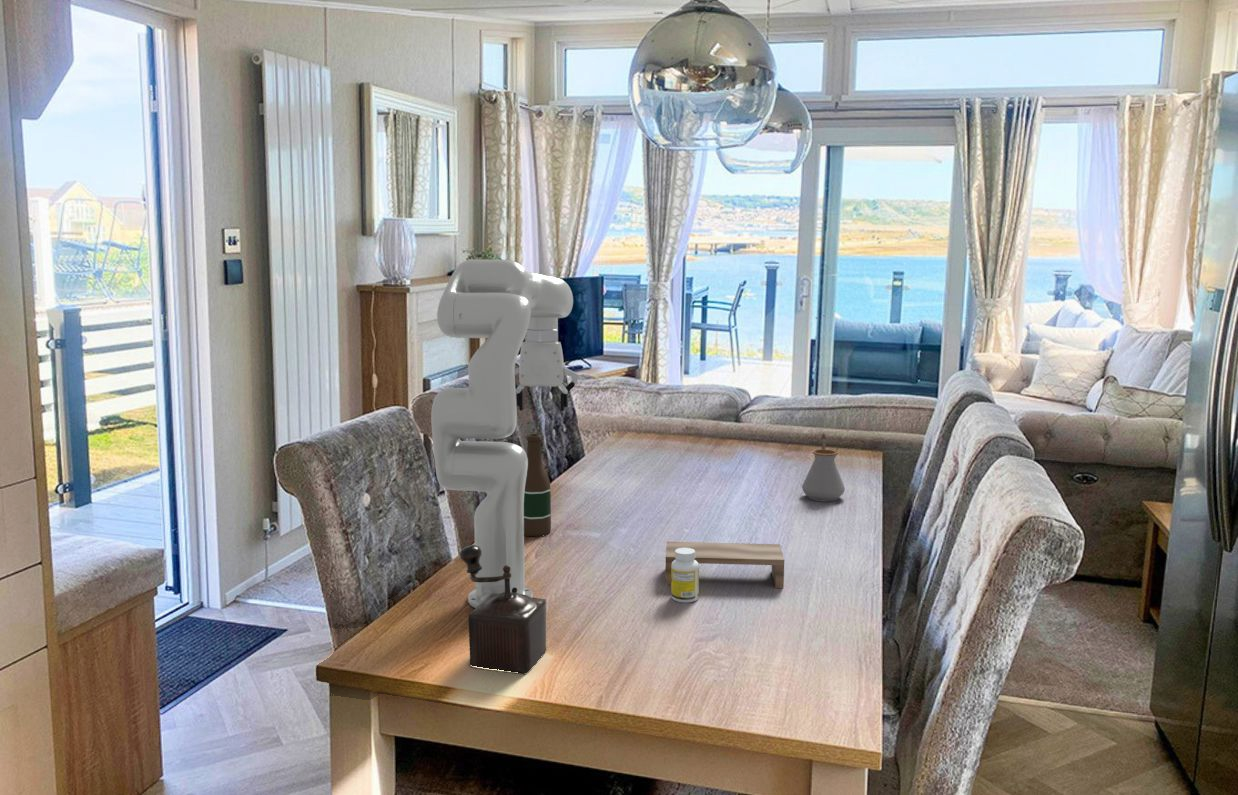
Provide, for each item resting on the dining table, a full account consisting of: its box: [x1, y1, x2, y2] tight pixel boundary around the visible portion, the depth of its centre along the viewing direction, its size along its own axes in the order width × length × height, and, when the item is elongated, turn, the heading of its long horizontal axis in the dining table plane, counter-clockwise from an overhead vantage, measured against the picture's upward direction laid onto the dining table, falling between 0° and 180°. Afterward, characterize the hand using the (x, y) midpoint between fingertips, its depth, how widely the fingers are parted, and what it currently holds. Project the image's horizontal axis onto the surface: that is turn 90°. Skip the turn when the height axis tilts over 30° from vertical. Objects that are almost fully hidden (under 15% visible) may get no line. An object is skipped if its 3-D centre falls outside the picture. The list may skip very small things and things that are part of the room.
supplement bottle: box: [670, 548, 700, 604], centre depth 192 cm, size 5×5×10 cm
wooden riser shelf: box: [664, 541, 785, 589], centre depth 203 cm, size 10×24×6 cm, turn 86°
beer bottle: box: [524, 433, 552, 537], centre depth 232 cm, size 8×8×24 cm
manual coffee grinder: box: [459, 544, 547, 674], centre depth 165 cm, size 16×11×18 cm
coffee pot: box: [801, 432, 846, 502], centre depth 269 cm, size 21×12×15 cm, turn 169°
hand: (542, 409), depth 228 cm, fingers open, 9 cm apart
